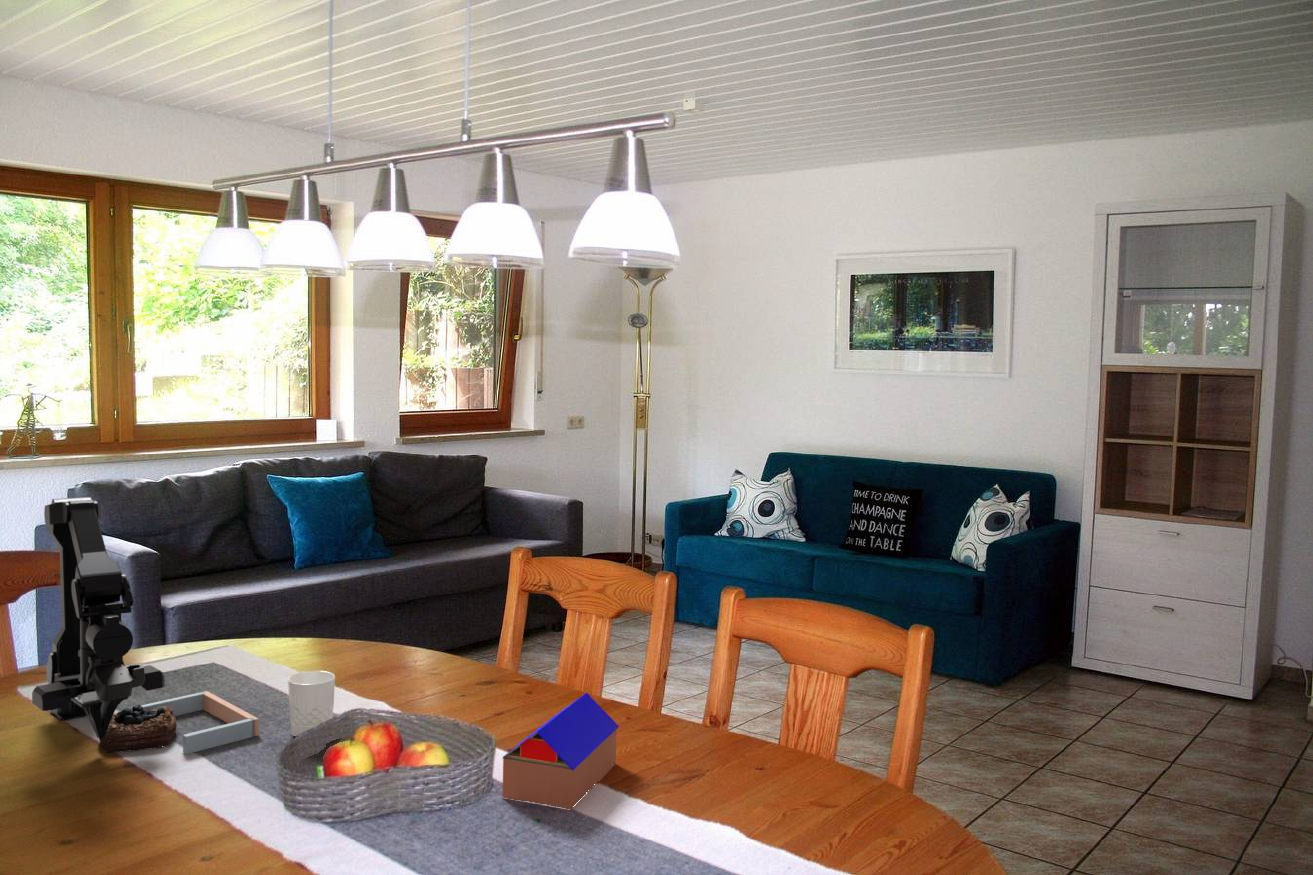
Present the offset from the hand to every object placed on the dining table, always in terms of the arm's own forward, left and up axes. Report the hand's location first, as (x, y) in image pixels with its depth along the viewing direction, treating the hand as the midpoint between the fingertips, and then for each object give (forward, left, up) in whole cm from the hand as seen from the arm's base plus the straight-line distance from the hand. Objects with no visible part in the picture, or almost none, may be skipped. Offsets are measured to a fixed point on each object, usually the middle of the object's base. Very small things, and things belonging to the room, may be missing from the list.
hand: (100, 737), depth 171 cm
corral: (0, +16, -3) cm, 16 cm away
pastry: (-2, +7, -3) cm, 8 cm away
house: (+61, +48, -3) cm, 77 cm away
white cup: (+15, +30, -3) cm, 33 cm away
